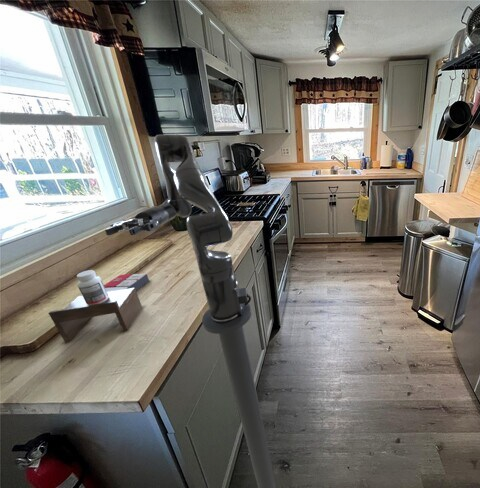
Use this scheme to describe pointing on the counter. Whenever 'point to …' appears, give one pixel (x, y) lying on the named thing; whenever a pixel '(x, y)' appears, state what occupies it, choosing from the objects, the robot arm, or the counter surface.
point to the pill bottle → (91, 288)
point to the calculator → (126, 282)
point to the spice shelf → (97, 312)
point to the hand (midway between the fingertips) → (118, 232)
